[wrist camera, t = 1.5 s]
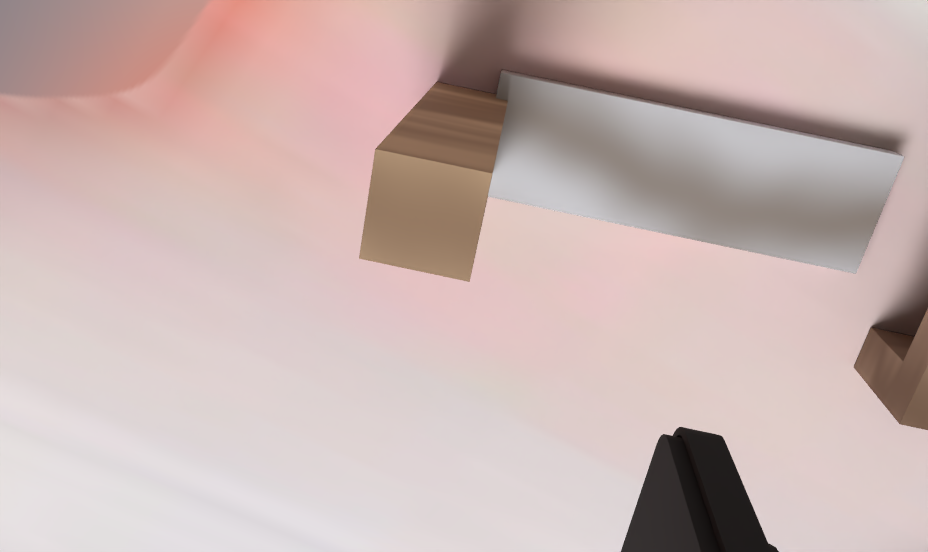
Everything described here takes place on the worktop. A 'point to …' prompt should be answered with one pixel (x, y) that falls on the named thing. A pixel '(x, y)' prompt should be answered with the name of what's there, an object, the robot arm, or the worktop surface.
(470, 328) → the worktop surface
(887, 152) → the blade tool
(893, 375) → the wooden bench
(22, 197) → the worktop surface
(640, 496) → the robot arm
